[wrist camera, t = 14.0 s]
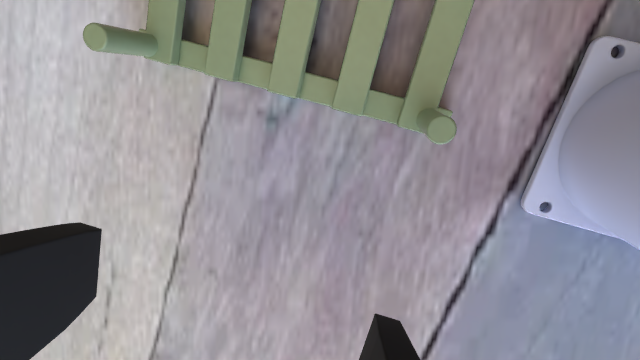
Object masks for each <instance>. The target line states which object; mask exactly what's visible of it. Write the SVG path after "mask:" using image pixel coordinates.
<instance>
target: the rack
mask: <svg viewBox="0 0 640 360" xmlns="http://www.w3.org/2000/svg"><path fill="white" fill-rule="evenodd" d="M394 1H395V0H359V1H358V5H357V9H356V13H355V16H354V20H353V24H352V28H351V32H350V36H349V40H348V44H347V48H346V52H345V56H344V60H343V63H342V67H341V71H340V75H339V79H338V80H335V79H331V78H328V77H324V76H320V75H316V74H312V73H309V72H305V70H306V65H307V61H308V57H309V52H310V48H311V44H312V39H313V35H314V30H315V26H316V22H317V17H318V13H319V8H320V4H321V0H285V3H284V8H283V13H282V18H281V23H280V28H279V33H278V38H277V43H276V48H275V53H274V58H273V63H271V62H267V61H263V60H259V59H255V58H252V57H248V56H244V55H242V54H243V49H244V43H245V37H246V32H247V26H248V20H249V15H250V9H251V3H252V0H215V5H214V12H213V18H212V25H211V32H210V38H209V45H208V46H206V45H202V44H199V43H195V42H191V41H187V40H183V39H181V37H182V29H183V21H184V14H185V6H186V0H149V5H148V15H147V25H146V30H144V29H139V32H138V31H133V30H128V29H123V28H119V27H114V26H109V25H104V24H99V23H90V24H88V25H87V26H86V27H85V29H84V31H83V38H84V41H85V43H86V45H87V46H88V47H89V48H90V49H92V50H93V51H97V52H107V53H117V54H126V55H136V56H144V58H146V59H150V60H154V61H157V62H161V63H165V64H169V65H178V66H182V67H185V68H189V69H193V70H196V71H200V72H204V73H205V74H206V75H209V76H213V77H217V78H220V79H224V80H228V81H231V82H236V81H237V82H241V83H245V84H248V85H252V86H256V87H259V88H263V89H267V91H269V92H272V93H276V94H280V95H283V96H287V97H291V98H294V99H295V98H300V99H304V100H308V101H311V102H315V103H319V104H322V105H326V106H330V107H332V109H335V110H339V111H342V112H346V113H350V114H354V115H357V116H362V115H363V116H367V117H371V118H374V119H378V120H382V121H385V122H389V123H393V124H396V125H397V126H398V127H401V128H405V129H409V130H413V131H416V132H420V133H424V134H425V135H426V136H427V137H428V138H429V139H430V141H432V142H433V143H435V144H446V143H448V142H450V141H451V140H452V139H453V138H454V136H455V134H456V131H457V127H456V124H455V122H454V120H453V119H452V118H451V116H452V113H453V112H452V111H451V110H448V109H445V108H441V107H438V106H439V103H440V100H441V97H442V94H443V91H444V88H445V85H446V82H447V79H448V76H449V74H450V71H451V68H452V65H453V62H454V59H455V56H456V53H457V50H458V47H459V44H460V41H461V38H462V35H463V32H464V30H465V27H466V24H467V21H468V18H469V15H470V12H471V9H472V6H473V3H474V0H435V3H434V6H433V9H432V12H431V16H430V19H429V22H428V25H427V28H426V32H425V35H424V38H423V41H422V44H421V48H420V51H419V54H418V57H417V60H416V64H415V67H414V70H413V73H412V76H411V80H410V83H409V86H408V89H407V92H406V96H405V98H403V97H400V96H396V95H392V94H388V93H384V92H381V91H377V90H373V89H370V86H371V82H372V79H373V75H374V72H375V68H376V64H377V61H378V57H379V54H380V50H381V47H382V43H383V40H384V36H385V33H386V29H387V25H388V22H389V18H390V15H391V11H392V8H393V4H394Z"/></svg>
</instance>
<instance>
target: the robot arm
mask: <svg viewBox="0 0 640 360" xmlns="http://www.w3.org/2000/svg"><path fill="white" fill-rule="evenodd" d="M615 46H616V47H618V49H619V54H618V56H617V57H616V58H613V57H612V56H611V50H612V49H613V47H615ZM544 202H548V206H547V208H546V209H543V210H540V209H539V208H540V205H541V204H542V203H544ZM521 207H522V208H523V209H524V210H525V211H526V212H528V213H530V214H533V215H537V216H540V217H544V218H548V219H551V220H555V221H558V222H562V223H565V224H569V225H572V226H576V227H580V228H583V229H587V230H590V231H594V232H597V233H601V234H605V235H608V236H612V237H615V238H619V239H622V240H624V241H626V242H627V243H629V244H630V245H632V246H633V247H635V248H637V249H638V250H640V43H637V42H633V41H629V40H625V39H621V38H616V37H612V36H602V37H599V38H596V39H595V40H593V41H592V42H591V43H590V45H589V46H588V49H587V51H586V53H585V55H584V58H583V60H582V62H581V64H580V67H579V69H578V71H577V74H576V76H575V78H574V80H573V83H572V85H571V87H570V89H569V92H568V94H567V96H566V98H565V101H564V103H563V105H562V108H561V110H560V112H559V114H558V117H557V119H556V121H555V123H554V126H553V128H552V130H551V133H550V135H549V137H548V139H547V142H546V144H545V146H544V148H543V151H542V153H541V155H540V158H539V160H538V162H537V164H536V167H535V169H534V171H533V173H532V176H531V178H530V180H529V183H528V185H527V187H526V189H525V192H524V194H523V196H522V198H521ZM101 231H102V229H99V228H96V227H93V226H90V225H86V224H83V223H69V224H61V225H54V226H48V227H42V228H36V229H30V230H25V231H19V232H14V233H8V234H2V235H0V360H29V359H31V358H32V357H33V356H34V355H35V354H37V353H38V352H39V351H40V350H41V349H43V348H44V347H45V346H46V345H47V344H49V343H50V342H51V341H52V340H53V339H55V338H56V337H57V336H58V335H59V334H60V333H62V332H63V331H64V330H65V329H66V328H67V327H68V326H69V325H70V324H71V323H72V322H73V321H74V320H75V319H76V318H77V317H78V316H79V315H80V314H81V313H82V311H83V310H84V309H85V308H86V307H87V306H88V305H89V304H90V303H91V302H92V301H93V299H94V298H95V297H96V292H97V280H98V268H99V255H100V243H101ZM359 360H420V358H419V357H418V355H417V353H416V351H415V349H414V347H413V345H412V343H411V341H410V339H409V337H408V336H407V334H406V332H405V330H404V328H403V326H402V324H401V322H400V321H398V320H395V319H392V318H388V317H385V316H382V315H379V314H375V315H374V318H373V321H372V324H371V327H370V330H369V333H368V335H367V338H366V341H365V344H364V347H363V350H362V353H361V356H360V358H359Z"/></svg>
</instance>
